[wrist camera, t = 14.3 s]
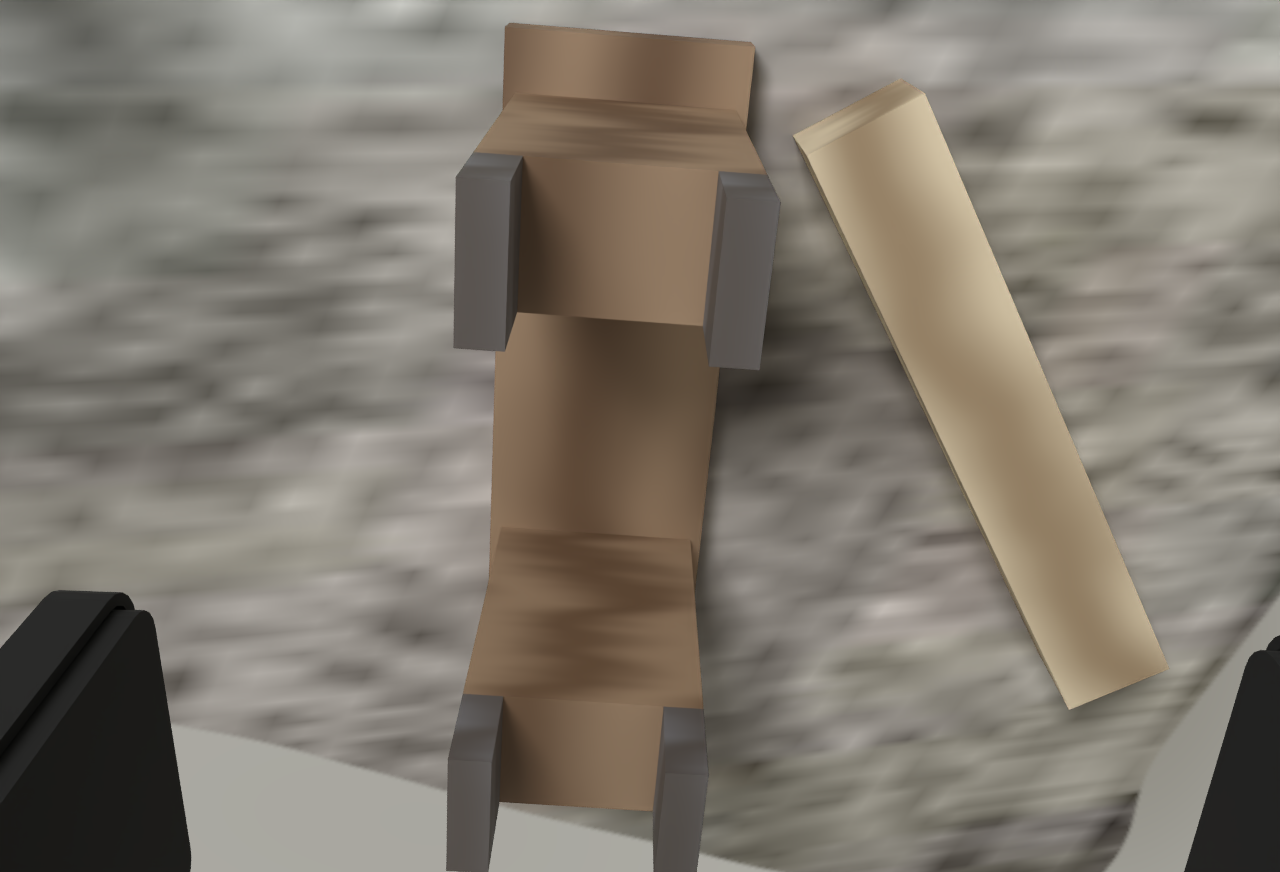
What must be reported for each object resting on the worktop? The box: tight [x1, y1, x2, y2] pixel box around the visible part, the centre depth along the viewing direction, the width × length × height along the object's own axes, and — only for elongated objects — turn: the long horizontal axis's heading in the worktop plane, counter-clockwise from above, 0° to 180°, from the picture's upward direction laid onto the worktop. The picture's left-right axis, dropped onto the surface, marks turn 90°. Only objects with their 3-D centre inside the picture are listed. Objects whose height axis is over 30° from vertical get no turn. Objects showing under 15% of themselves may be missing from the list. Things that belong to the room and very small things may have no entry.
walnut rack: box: [446, 23, 780, 872], centre depth 37 cm, size 8×24×15 cm, turn 176°
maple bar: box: [793, 79, 1169, 710], centre depth 43 cm, size 4×24×4 cm, turn 28°
